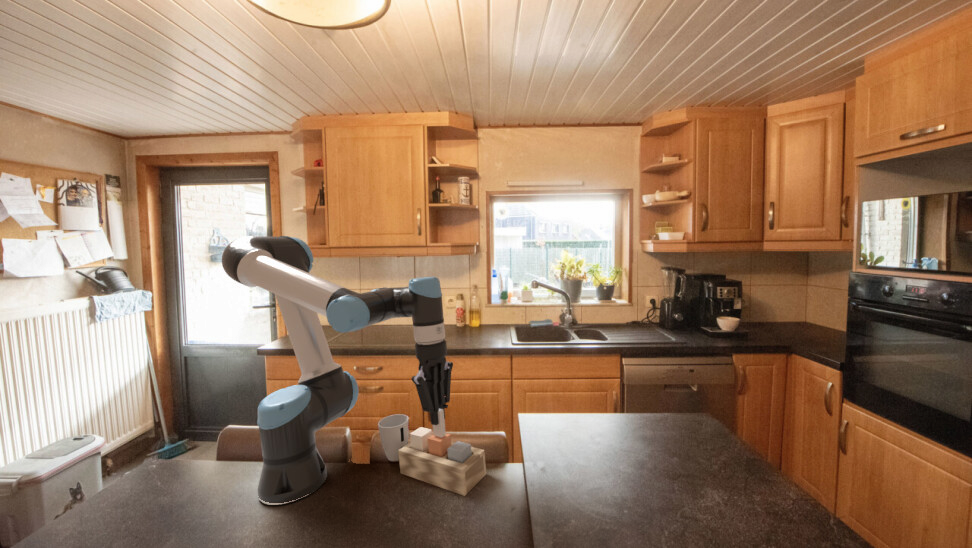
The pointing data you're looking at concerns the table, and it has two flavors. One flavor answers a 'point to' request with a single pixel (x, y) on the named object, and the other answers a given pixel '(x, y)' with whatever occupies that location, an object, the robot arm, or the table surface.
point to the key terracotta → (439, 445)
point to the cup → (394, 434)
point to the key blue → (459, 452)
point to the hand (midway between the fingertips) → (439, 435)
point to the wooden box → (443, 469)
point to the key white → (420, 439)
